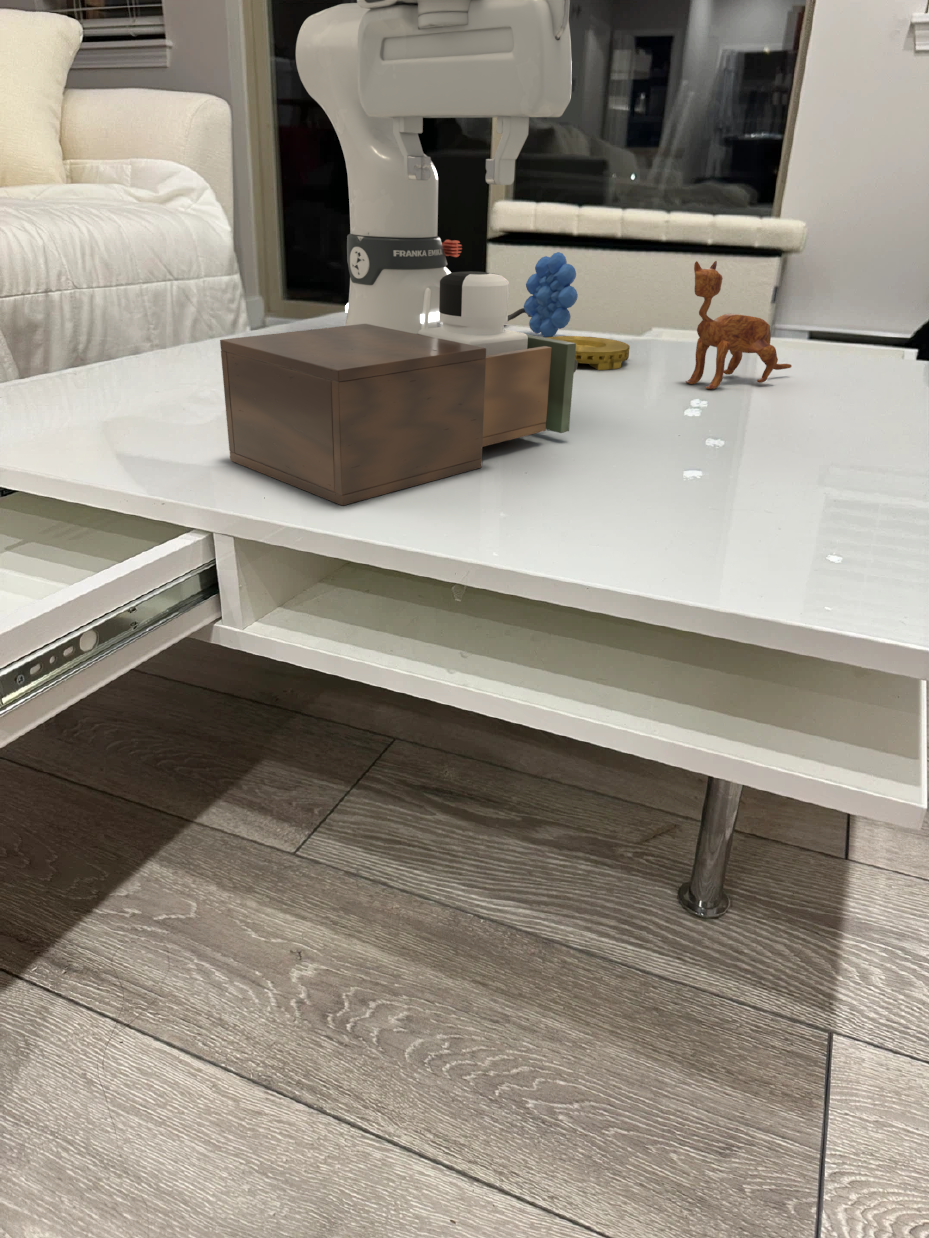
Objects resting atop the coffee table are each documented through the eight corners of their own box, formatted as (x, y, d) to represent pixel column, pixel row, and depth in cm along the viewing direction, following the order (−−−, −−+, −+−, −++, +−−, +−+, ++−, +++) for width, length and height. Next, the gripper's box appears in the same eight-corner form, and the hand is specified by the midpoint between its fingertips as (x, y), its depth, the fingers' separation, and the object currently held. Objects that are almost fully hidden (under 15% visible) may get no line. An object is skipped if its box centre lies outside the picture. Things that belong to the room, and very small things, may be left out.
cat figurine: (768, 371, 116) (789, 256, 110) (810, 381, 111) (834, 262, 105) (663, 382, 108) (679, 259, 101) (703, 394, 103) (722, 265, 96)
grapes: (594, 343, 131) (602, 254, 126) (556, 345, 128) (563, 255, 123) (548, 330, 140) (554, 247, 135) (512, 333, 137) (516, 247, 132)
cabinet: (367, 431, 83) (365, 323, 79) (481, 467, 74) (486, 347, 70) (229, 460, 74) (219, 339, 70) (342, 506, 65) (338, 370, 61)
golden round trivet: (629, 356, 123) (631, 339, 122) (625, 372, 112) (627, 354, 111) (542, 350, 125) (543, 333, 124) (529, 366, 114) (531, 348, 113)
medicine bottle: (415, 409, 83) (416, 270, 78) (473, 399, 88) (478, 267, 82) (466, 425, 79) (471, 279, 73) (525, 414, 83) (533, 275, 78)
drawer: (496, 397, 94) (499, 319, 90) (600, 423, 85) (608, 338, 82) (359, 425, 82) (358, 336, 78) (465, 458, 74) (468, 360, 70)
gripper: (598, -33, 63) (582, 187, 69) (401, -7, 75) (402, 177, 82) (540, -47, 59) (528, 188, 65) (341, -17, 71) (347, 177, 78)
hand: (456, 182), depth 73 cm, fingers open, 8 cm apart
